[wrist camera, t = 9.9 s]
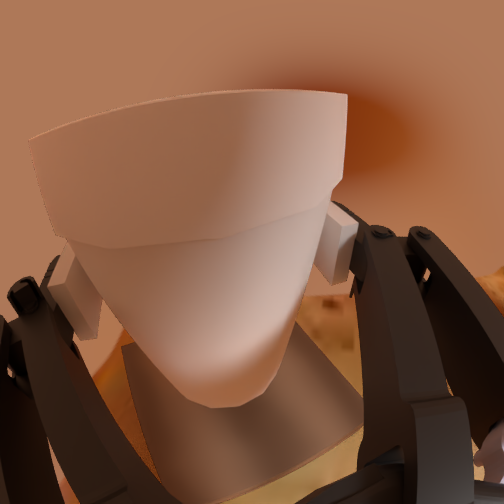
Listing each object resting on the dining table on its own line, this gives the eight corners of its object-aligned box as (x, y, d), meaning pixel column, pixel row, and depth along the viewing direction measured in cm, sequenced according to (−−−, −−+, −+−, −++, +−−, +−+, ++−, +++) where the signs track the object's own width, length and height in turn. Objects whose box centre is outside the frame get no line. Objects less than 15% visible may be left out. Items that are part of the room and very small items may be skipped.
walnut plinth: (270, 320, 27) (270, 292, 24) (358, 429, 16) (375, 412, 14) (137, 371, 22) (121, 346, 19) (191, 511, 11) (175, 511, 9)
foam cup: (118, 350, 15) (31, 137, 7) (227, 282, 20) (210, 91, 12) (216, 471, 9) (18, 147, 2) (338, 354, 14) (393, 101, 7)
